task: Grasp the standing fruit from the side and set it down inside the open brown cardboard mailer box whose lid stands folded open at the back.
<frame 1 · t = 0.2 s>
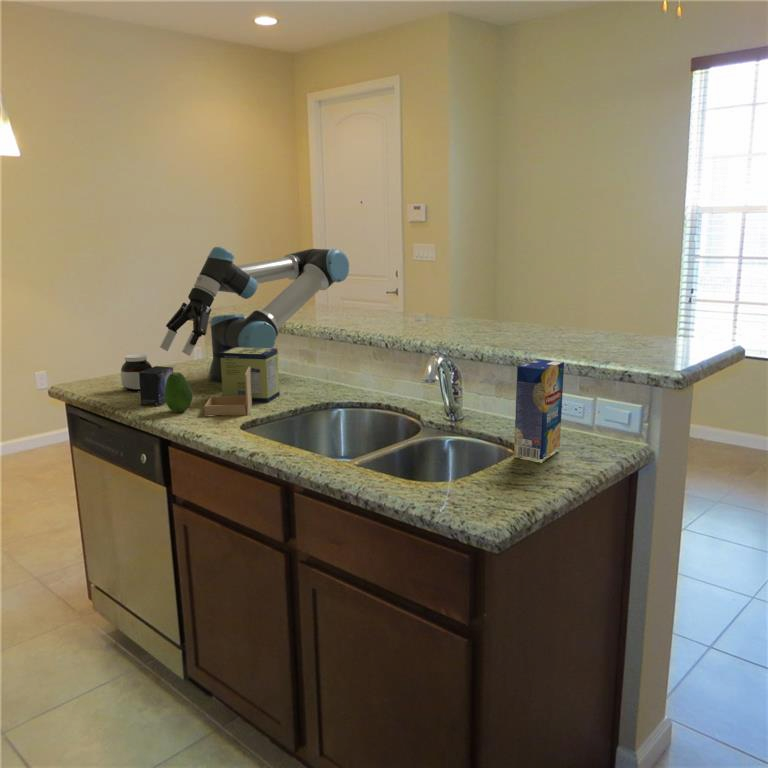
hand: (174, 351, 221), 15 cm above the worktop, tool tilted 35°, fingers open, 13 cm apart
blue cracker box: (537, 455, 168), on the worktop
fruit: (179, 412, 208), on the worktop
small box: (158, 402, 221), on the worktop
protein box: (251, 398, 225), on the worktop
spread jar: (140, 389, 239), on the worktop
mailer box: (227, 410, 210), on the worktop
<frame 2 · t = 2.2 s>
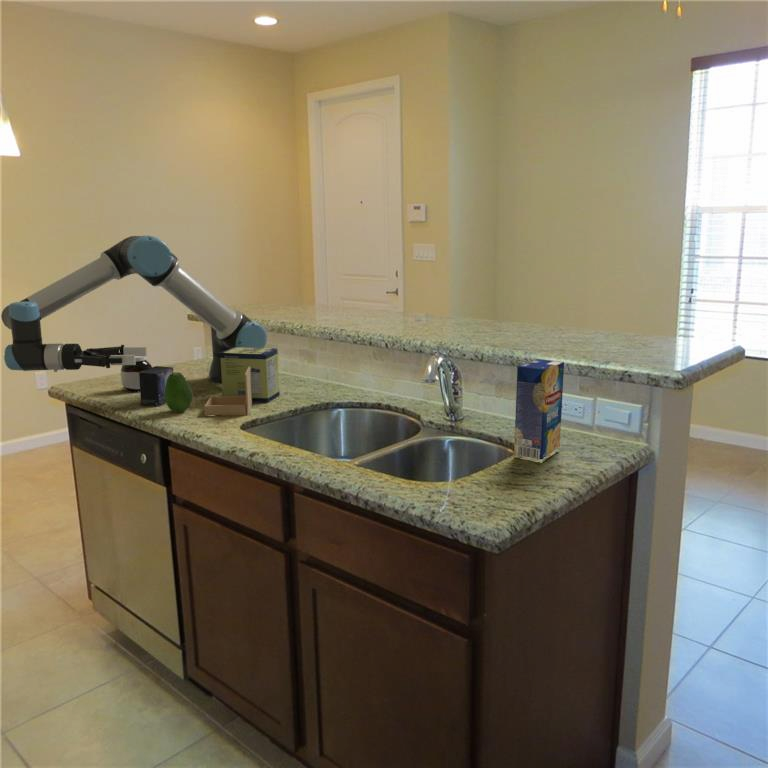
hand: (141, 355, 204), 17 cm above the worktop, tool horizontal, fingers open, 13 cm apart
nothing on the worktop moved.
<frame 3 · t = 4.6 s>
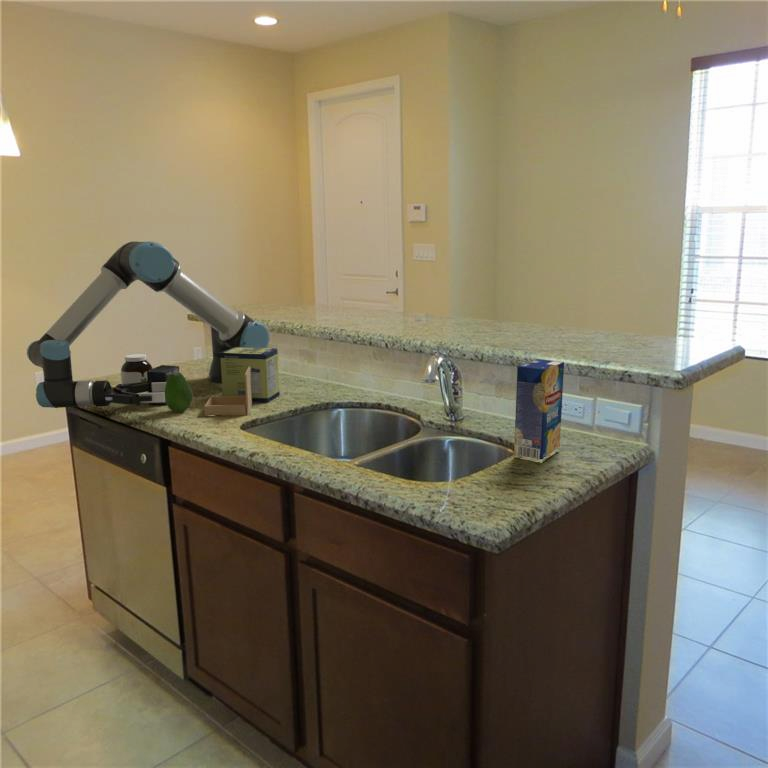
hand: (169, 391, 206), 6 cm above the worktop, tool horizontal, fingers open, 13 cm apart
small box: (165, 401, 222), on the worktop
everything else where it was.
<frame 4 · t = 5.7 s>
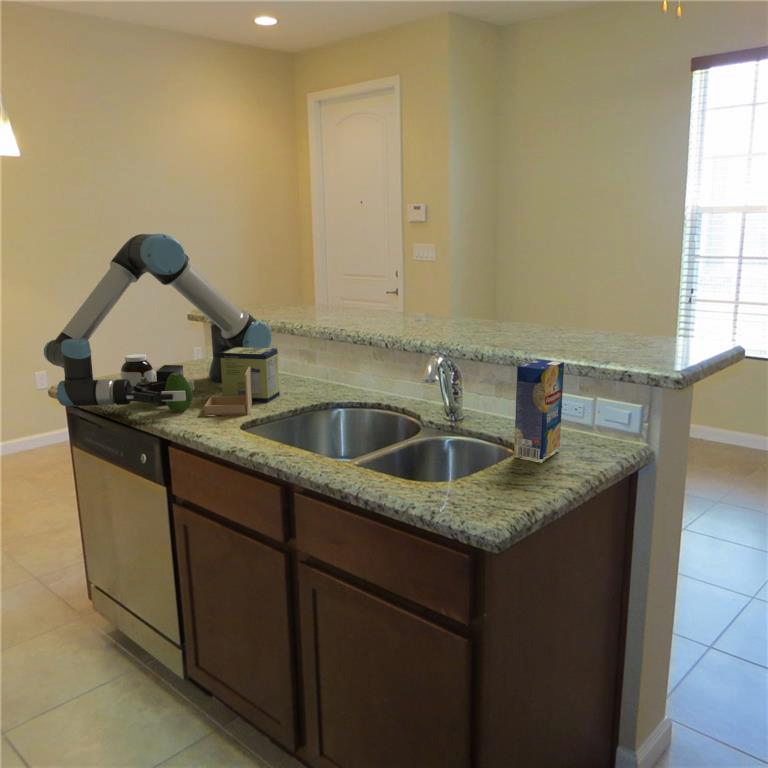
hand: (189, 390, 207), 6 cm above the worktop, tool horizontal, fingers open, 13 cm apart
small box: (172, 400, 223), on the worktop, touching gripper, hand
everything else where it was.
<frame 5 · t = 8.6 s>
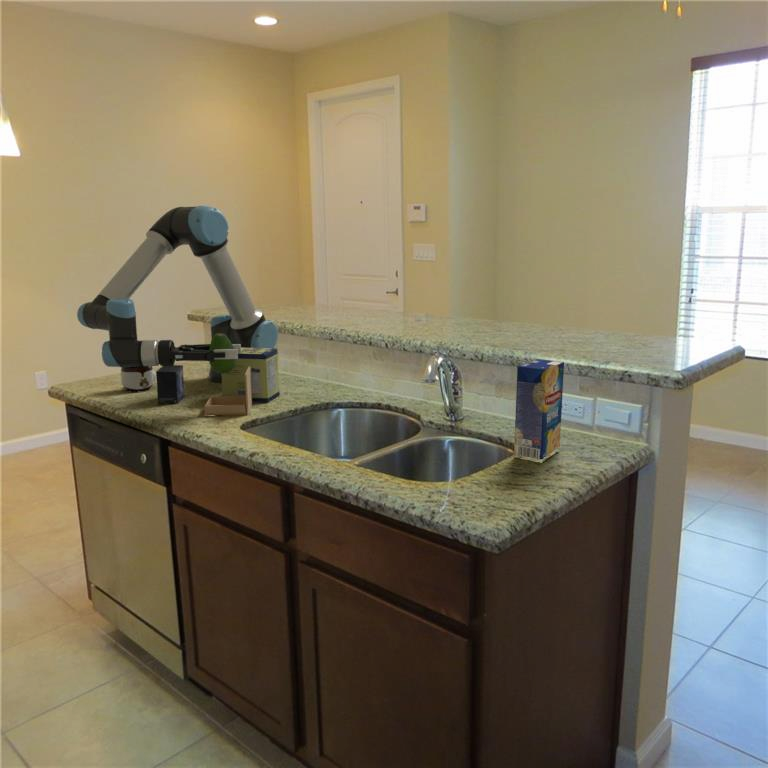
hand: (239, 351, 206), 18 cm above the worktop, tool horizontal, fingers closed on fruit, 8 cm apart
fruit: (223, 374, 207), point 11 cm above the worktop, touching gripper
small box: (172, 400, 223), on the worktop
everything else where it was.
when the fingers open (9 cm above the worktop, at t = 10.8 s): fruit drops 2 cm, resting on mailer box.
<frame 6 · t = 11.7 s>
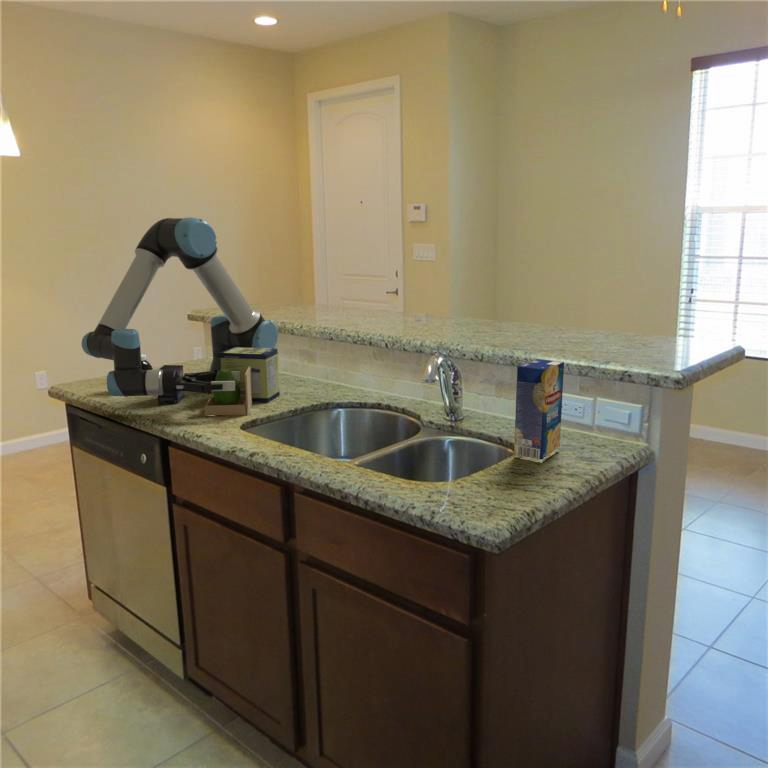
hand: (237, 380, 208), 9 cm above the worktop, tool horizontal, fingers open, 13 cm apart
fruit: (227, 409, 210), resting on mailer box
everything else where it was.
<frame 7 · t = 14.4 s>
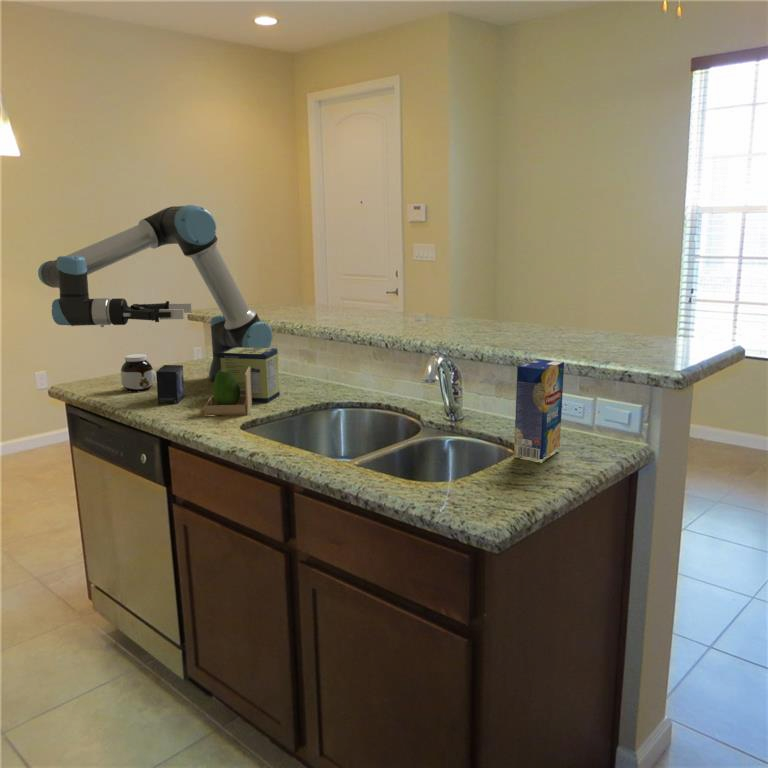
hand: (187, 311, 202), 30 cm above the worktop, tool horizontal, fingers open, 13 cm apart
nothing on the worktop moved.
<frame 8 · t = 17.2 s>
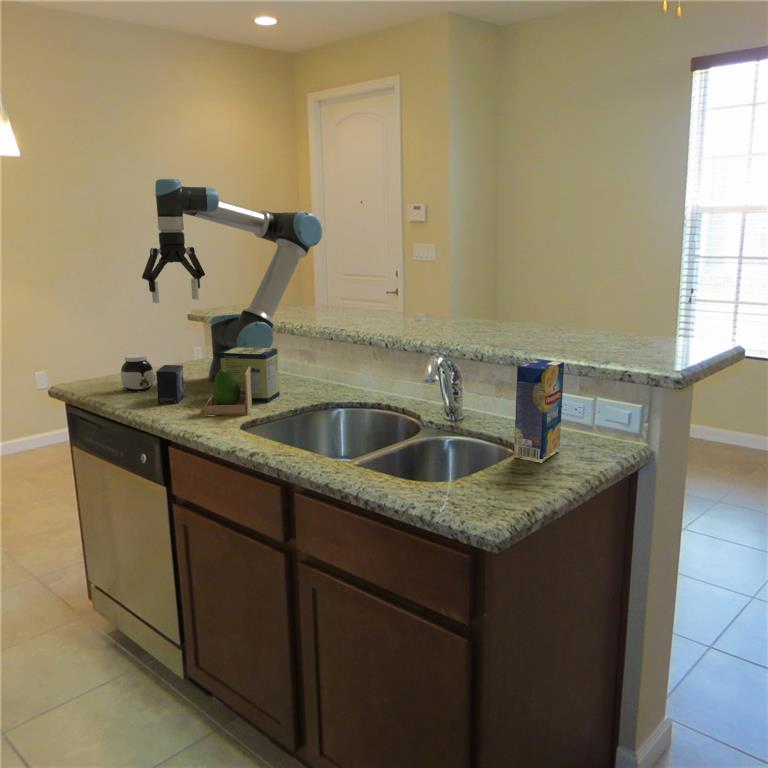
hand: (176, 301, 221), 31 cm above the worktop, tool pointing down, fingers open, 13 cm apart
nothing on the worktop moved.
at the end: fruit 0.1 cm from the mailer box (horizontally); fruit resting on mailer box; the gripper is holding nothing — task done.
